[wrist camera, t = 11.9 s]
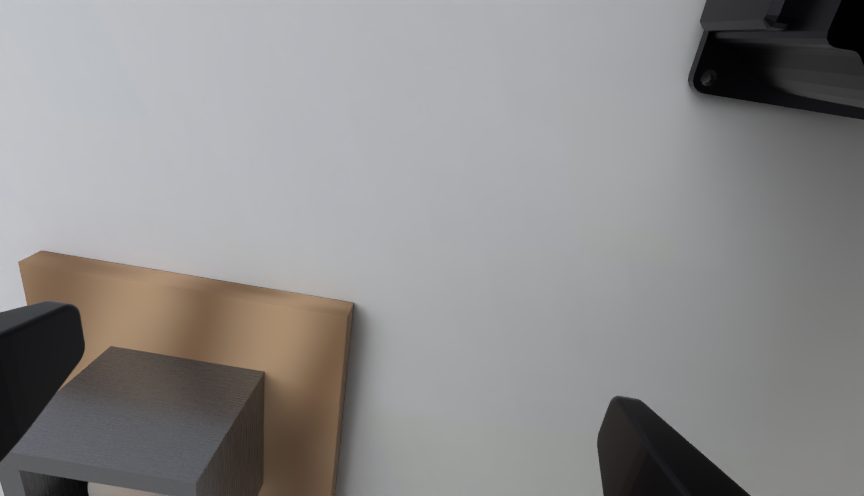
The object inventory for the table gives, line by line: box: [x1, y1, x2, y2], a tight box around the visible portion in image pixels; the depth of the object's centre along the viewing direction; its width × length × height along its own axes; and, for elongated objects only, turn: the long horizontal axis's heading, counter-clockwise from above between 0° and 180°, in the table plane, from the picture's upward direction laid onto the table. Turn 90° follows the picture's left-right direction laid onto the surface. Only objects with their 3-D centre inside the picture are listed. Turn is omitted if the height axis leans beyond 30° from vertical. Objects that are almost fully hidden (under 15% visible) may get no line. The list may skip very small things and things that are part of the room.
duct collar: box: [0, 346, 265, 496], centre depth 21 cm, size 7×7×6 cm
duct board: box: [18, 251, 354, 496], centre depth 22 cm, size 14×14×6 cm
